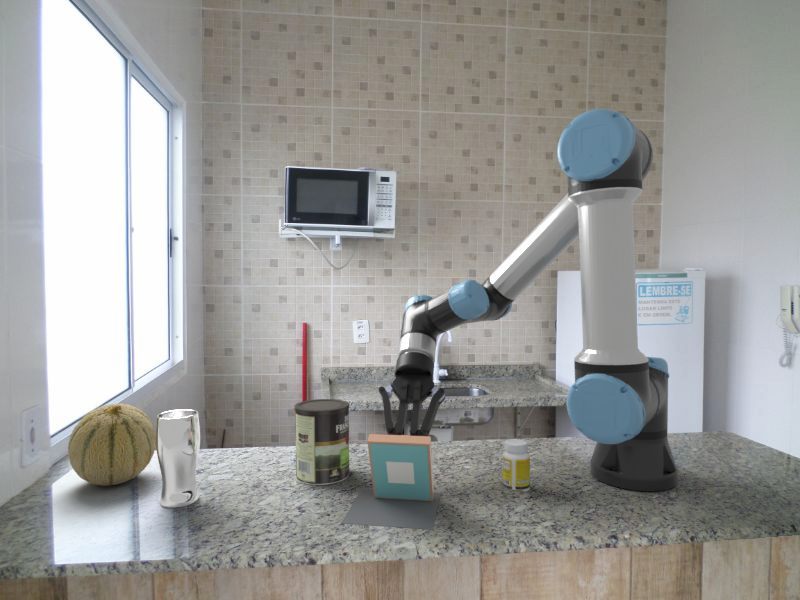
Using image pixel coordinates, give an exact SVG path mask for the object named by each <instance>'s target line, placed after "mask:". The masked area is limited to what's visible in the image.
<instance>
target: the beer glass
mask: <svg viewBox="0 0 800 600" xmlns="http://www.w3.org/2000/svg"><path fill="white" fill-rule="evenodd" d="M155 426H156V427H155V436H156V445H155V450H156V454H157V455H156V456H157V461H158V465H159V470H160V475H161V483H162V485H161V495H160V499H159V504H160V505H161V506H162V507H163V508H168V509H175V508H176V509H177V507H178V508H183V507H188V506H191V505H192V504H194V503H195V502H198V500H199V491H198V486H197V477H196V476H197V468H198V467H197V466H198V460H199V454H200V447H201V426H200V420H199V411H198V410H195V409H186V408H185V409H183V408H182V409H173V410H167V411H163V412H161V413H158V414H157V415H156V424H155Z"/></svg>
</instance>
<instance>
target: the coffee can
mask: <svg viewBox="0 0 800 600" xmlns="http://www.w3.org/2000/svg"><path fill="white" fill-rule="evenodd" d="M293 407H294V413H295V414H294V419H295V420H294V422H295V423H294V424H295V426H294V427H295V430H294V432H295V482H296V483H297V484H299V485H300V483H302V484H306V485H313V486H317V485H318V486H322V485H323V486H325V485H331V484H336V483H339V482H342V481H344V480H346V479H347V478H349V476H350V422H349V421H350V415H349V414H350V412H349V411H350V409H349V408H350V403H349V402H348V401H346V400H342V399H334V398H318V399H308V400H304V401H300V402H297V403H296V404H294V406H293Z"/></svg>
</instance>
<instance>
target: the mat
mask: <svg viewBox="0 0 800 600" xmlns="http://www.w3.org/2000/svg"><path fill="white" fill-rule="evenodd" d="M441 494H442V492H438V491H434V497H433V501H418V500H402V499H385V498H374V492H373V488H367V487H363V488H361V490H360V491H359V493H358V494H357V496H356V498H355V499H354V501H353V502H352V504H351V505H350V507H349V509H348V511H347V512H346V514H345V516H344V517H343V519H342V520H341V522H340V524H343V525H361V526H374V527H375V526H376V527H390V528H404V529H417V530H418V529H419V530H421V529H422V530H431V531H433V529H434V525H435V521H436V518H437V517H436V516H437V512H438V508H439V504H440V499H441V496H442V495H441Z"/></svg>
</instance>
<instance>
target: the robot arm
mask: <svg viewBox="0 0 800 600" xmlns="http://www.w3.org/2000/svg"><path fill="white" fill-rule="evenodd" d="M556 153H557V155H556V156H557V160H558V163H559V166H560V167H561V170H562V171H563V172H564V174H566V176H567V179H566V180H567V194H565V196H564V197H563V198H562V199H561V200H560V201H559V202H558V203H557V204H556V205H555V206H554V207H553V208H552V209H551V211H549V212H548V213H547V214H546V216H545V217H544V218H543V219H542V220H540V222H539V223H538V224H537V225H536V226H535V227H534V228H533V229H532V231H531V232H530V233H529V234H528V235H527V236H525V238H524V239H523V240H522V241H521V242H520V243H519V244H518V245H517V246H516V248H514V250H513V251H511V253H510V254H509V255H507V257H505V259H504V260H503V261H502V262H501V263H500V265H499V266H497V267H496V268H495V270H493V272H492V273H491V274H490V275H489V276H488V277H487V278H486V279H485V280H484V281H483V282H482V283H480V282H477V280H475V279H467V280H465V281H462V282H459V283H456V284H455V285H453V286H451V287H450V288H448V289H447V290H445V291H443V292H441V293H439V294H437V295H435V296H431V295H427V294H420V295H414V296H412V297H411V298H409V299H408V300H407V301H406V304H405V307H404V311H403V314H402V323H401V331H400V339H399V343H398V344H399V345H398V349H397V351H398V352H397V357H396V363H395V370H394V377H393V379H392V380H391V382H390V384H389V385H388V386H387V385H386V386H385V387H384V386H382V385H381V386H379V387H378V393H379V396H380V399H381V400H382V405H383V411H384V412H383V413H384V421H385V430H386V433H387V434H386V435H405V432H406V431H405V430H406V425H407V416H408V410H409V404H412V410H411V419H410V429H409V434H408V435H407V434H406V435H405V436H430V432H431V430H432V427H433V424H434V421H435V419H436V416H437V413H438V411H439V408H440V406H441V404H443V402H444V401H445V400H446V393H445V391H446V390H445V388H442V387H441V388H439V387H436V386H435V381H434V371H435V361H436V359H435V358H436V348H437V338H438V336H440V335H442V334H444V333H446V332H448V331H450V330H452V329H455V328H457V327H459V326H461V325H466V324H472V323H478V322H479V323H480V322H490V321H492V322H494V321H497V320H500V319H503V318H504V317H506V316H507V315H508V314H509V313H510V312H511V309H512V305H513V302H514V301H515V300H516V299H517V298H518V297H520V296H521V295H522V293H523V292H525V290H526V289H528V288H529V286H531V285H532V284H533V283H534V282H535V280H537V279H538V278H539V277H540V276H541V275H542V273H544V272H545V270H547V269H548V268H549V267H550V266H551V265H552V264H553V263H554V262H555V261H556V260H557V259H558V258H559V257H561V255H562V254H563V253H564V252H566V250H567V249H568V248H569V247H570V246H572V244H573V243H574V242H576V240H577V239H578V240H579V241H578V242H579V270H580V271H579V272H580V274H579V275H580V298H581V302H580V303H581V323H582V326H581V327H582V328H581V329H582V349H581V351H579V352H578V353H577V355H576V356H575V357H574V358H573V359H574V360H573V361H574V362H573V363H574V364H573V365H574V382H573V384H572V385H571V386H570V388H569V391H568V394H567V396H566V410H567V414H568V417H569V419H570V421H571V423H572V425H573V426H574V427H575V428H576V429H577V431H579V432H580V433H581V434H582V435H583V436H584V437H586V438H588V439H589V440H591V441H593V442H596V443H595V447H594V450H593V452H592V455H591V458H590V470H589V471H590V475H592V477H593V478H594V479H596V480H598V481H600V482H602V483H604V484H606V485H610V486H613V487H617V488H621V489H626V490H631V491H632V490H633V491H640V492H641V491H642V492H660V491H667V490H670V489H671V490H672V488H675V487H676V486H677V485H678V483H679V482H678V481H679V480H678V479H679V477H678V476H679V471H678V468H677V467H678V466H677V464H676V462H675V459H674V455H673V452H672V450H671V446H670V443H669V440H668V426H669V425H668V423H669V422H668V421H669V417H668V416H669V414H668V411H669V410H668V409H669V378H670V373H669V367H668V361H666V359H664V358H663V357H654V356H646V355H645V354H644V353H643V352H642V351H641V350H640V348H639V342H638V341H639V340H638V339H639V338H638V313H637V311H638V309H637V289H636V288H637V287H636V285H637V284H636V260H635V259H636V258H635V257H636V256H635V232H634V231H635V229H634V226H635V225H634V206H633V205H634V203H635V201H636V200H637V199H638V198H639V197H640V196H641V195H642V194H643V181H644V180H645V179H646V178H647V176H648V174H649V173H650V170H651V168H652V165H653V161H654V149H653V144H652V143H651V141H650V139H649V137H648V136H647V135H646V134H645V133H644V132H643V131H642V130H641V129H639V128H638V126H636V125H635V124H634V123H633V122H632V120H630V118H629V117H627V116H626V115H625V114H623V113H621V112H617V111H616V110H613V109H608V108H593V109H591V110H590V109H589V110H587V111H585V112H583V113H581V114H579V115H577V116H576V117H575V118H573V119H572V120H571V121H570V122H569V124H568V125H567V126H566V127H565V128H564V130H563V131H562V133H561V134H560V138H559V140H558V143H557V150H556ZM392 393H394V395H395V396H396V398H397V399H398V401H399V403H398V412H397V418H396V425H395V427H394V420H393V410H392V405H391V400H390V399H391V398H392V396H393V394H392ZM430 395H431V399H430V402H429V404H428V407H427V410H426V413H425V415H424V418H423V420H422V424H420V422H421V412H422V407H423V403H424V402H425V401H426V400H427V399H428V398H429V396H430ZM420 425H421V426H420Z"/></svg>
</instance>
